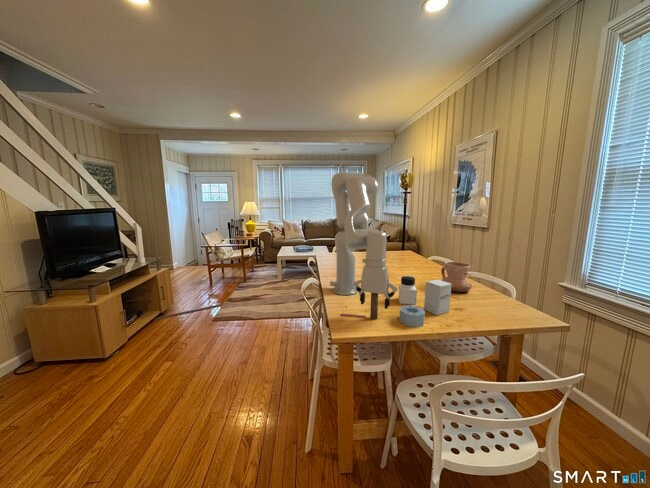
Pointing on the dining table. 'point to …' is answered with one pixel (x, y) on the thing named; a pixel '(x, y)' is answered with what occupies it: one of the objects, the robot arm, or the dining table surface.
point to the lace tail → (353, 315)
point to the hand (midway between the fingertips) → (374, 305)
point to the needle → (374, 306)
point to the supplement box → (437, 297)
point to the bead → (412, 316)
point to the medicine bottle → (407, 290)
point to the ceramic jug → (457, 275)
